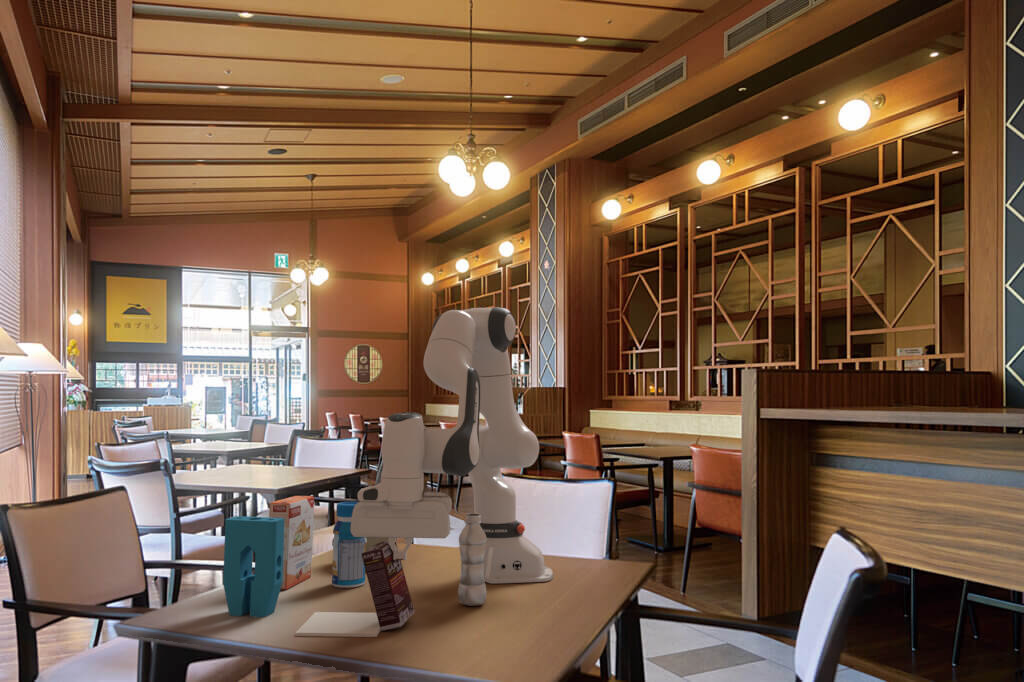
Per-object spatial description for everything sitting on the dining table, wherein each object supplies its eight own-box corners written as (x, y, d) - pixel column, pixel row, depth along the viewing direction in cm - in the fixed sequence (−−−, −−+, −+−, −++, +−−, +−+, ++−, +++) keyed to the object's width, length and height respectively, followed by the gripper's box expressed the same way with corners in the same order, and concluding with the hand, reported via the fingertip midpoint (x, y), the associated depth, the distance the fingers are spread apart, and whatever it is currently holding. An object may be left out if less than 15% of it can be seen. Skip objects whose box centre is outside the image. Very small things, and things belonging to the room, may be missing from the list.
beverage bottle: (349, 590, 177) (351, 506, 179) (323, 586, 181) (325, 503, 183) (372, 583, 184) (374, 502, 186) (347, 578, 189) (349, 500, 190)
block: (283, 611, 159) (286, 518, 161) (271, 618, 155) (274, 521, 156) (233, 608, 162) (236, 516, 163) (220, 614, 157) (223, 519, 158)
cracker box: (287, 590, 177) (290, 502, 178) (264, 589, 178) (267, 502, 179) (313, 577, 190) (315, 495, 192) (291, 575, 191) (294, 494, 193)
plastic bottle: (465, 610, 161) (466, 518, 163) (453, 602, 167) (454, 513, 169) (491, 606, 164) (492, 516, 166) (478, 599, 170) (479, 511, 172)
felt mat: (389, 615, 157) (389, 612, 157) (377, 636, 143) (377, 633, 143) (315, 615, 157) (315, 612, 157) (295, 636, 143) (295, 632, 143)
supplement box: (402, 626, 145) (381, 548, 146) (380, 632, 146) (359, 554, 147) (416, 612, 154) (396, 537, 155) (395, 617, 154) (375, 543, 156)
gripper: (453, 490, 155) (452, 557, 153) (356, 488, 155) (354, 555, 153) (450, 493, 148) (449, 563, 147) (349, 492, 149) (347, 562, 147)
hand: (399, 559), depth 150 cm, fingers closed
